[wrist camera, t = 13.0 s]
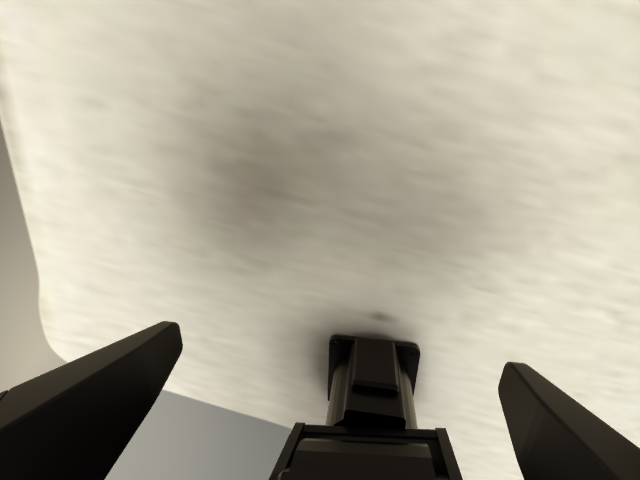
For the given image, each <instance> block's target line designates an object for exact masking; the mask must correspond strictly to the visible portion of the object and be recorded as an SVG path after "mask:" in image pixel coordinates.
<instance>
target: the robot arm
mask: <svg viewBox="0 0 640 480" xmlns="http://www.w3.org/2000/svg"><path fill="white" fill-rule="evenodd" d="M334 341H337V342H339V343H335V342H334ZM182 348H183V343H182V338H181V333H180V327H179V325H178V323H176V322H169V321H163V322H160V323H158V324H156V325H153V326H151V327H149V328H147V329H144V330H142V331H140V332H138V333H135V334H133V335H131V336H128V337H126V338H124V339H122V340H119V341H117V342H115V343H113V344H110V345H108V346H106V347H104V348H101V349H99V350H97V351H94V352H92V353H90V354H88V355H85V356H83V357H81V358H79V359H76V360H74V361H72V362H70V363H67V364H65V365H63V366H60V367H58V368H56V369H54V370H51V371H49V372H47V373H45V374H42V375H40V376H38V377H36V378H34V379H31V380H29V381H26V382H24V383H22V384H20V385H17V386H15V387H13V388H11V389H10V390H9V391H8V390H6V391H4V392H1V393H0V480H104V479H105V478H106V476H107V475H108V473H109V472H110V470H111V468H112V467H113V465H114V464H115V462H116V461H117V459H118V458H119V456H120V455H121V453H122V452H123V450H124V449H125V447H126V446H127V444H128V443H129V441H130V440H131V438H132V437H133V435H134V434H135V432H136V430H137V429H138V427H139V426H140V424H141V423H142V421H143V420H144V418H145V417H146V415H147V414H148V412H149V411H150V409H151V407H152V406H153V404H154V403H155V401H156V399H157V397H158V396H159V394H160V392H161V390H162V388H163V386H164V385H165V383H166V381H167V379H168V377H169V375H170V373H171V371H172V370H173V368H174V366H175V364H176V362H177V360H178V358H179V356H180V354H181V352H182ZM412 350H414V351H415V352H410V351H412ZM419 358H420V349H419V347H418V346H417V345H415V344H410V343H401V342H393V341H384V340H375V339H367V338H358V337H349V336H340V335H334V336H332V337H331V338H330V343H329V375H328V401H329V407H328V413H327V420H326V425H305V423H298V422H296V423H295V425H294V427H293V430H292V432H291V434H290V435H289V437H288V439H287V442H286V443H285V446H284V448H283V450H282V452H281V454H280V457H279V459H278V461H277V463H276V465H275V468H274V469H273V472H272V474H271V476H270V478H269V480H463V479H462V476H461V473H460V470H459V467H458V464H457V461H456V458H455V455H454V452H453V449H452V446H451V443H450V440H449V437H448V434H447V431H446V428H435V430H430V429H418V428H417V421H416V414H415V408H414V401H413V395H414V389H415V383H416V377H417V371H418V365H419ZM498 393H499V398H500V401H501V405H502V409H503V412H504V416H505V419H506V423H507V426H508V430H509V434H510V437H511V441H512V444H513V448H514V451H515V455H516V458H517V461H518V464H519V467H520V469H521V472H522V475H523V477H524V480H640V448H639V447H637V446H636V445H634V444H633V443H632V442H630V441H629V440H628V439H626V438H625V437H624V436H622V435H621V434H620V433H618V432H617V431H616V430H614V429H613V428H612V427H610V426H609V425H608V424H606V423H605V422H604V421H602V420H601V419H600V418H598V417H597V416H595V415H594V414H593V413H591V412H590V411H589V410H587V409H586V408H585V407H583V406H582V405H581V404H579V403H578V402H577V401H575V400H574V399H573V398H571V397H570V396H569V395H567V394H566V393H565V392H563V391H562V390H560V389H559V388H558V387H556V386H555V385H554V384H552V383H551V382H550V381H548V380H547V379H546V378H544V377H543V376H542V375H540V374H539V373H538V372H536V371H535V370H534V369H532V368H531V367H530V366H528V365H527V364H524V363H518V362H507V363H506V364H505V366H504V369H503V372H502V376H501V379H500V383H499V386H498Z"/></svg>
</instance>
